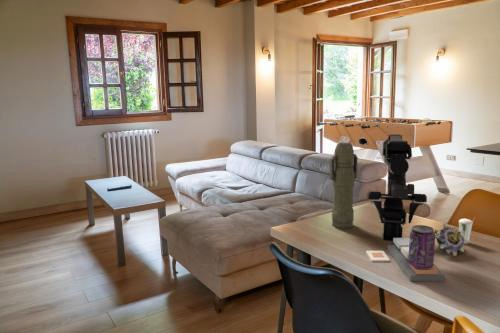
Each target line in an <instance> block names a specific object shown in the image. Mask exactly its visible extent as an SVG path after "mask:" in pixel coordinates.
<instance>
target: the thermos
mask: <svg viewBox="0 0 500 333" xmlns="http://www.w3.org/2000/svg"><path fill="white" fill-rule="evenodd" d="M358 159H359V158H358V155H357V154H356V153H354V147H353V144H352V143H350V142H339V143H337V144H336V146H335V150H334V155H332V156H331V158H330V160H329V161H330V162H329V165H330V167H329V179H330V180H331V181H332V186H333V206H332V208H331V221H332V223H331V224H332V225H331V226H332V227H334V228H336V229H339V230H340V229H342V230H345V229H352V228H353V227H354V219H355V218H354V217H355V216H354V215H355V213H354V212H355V210H354V208H353V203H354V200H353V198H354V187H355V180H356V179H357V177H358Z"/></svg>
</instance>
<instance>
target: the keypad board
mask: <svg viewBox="0 0 500 333" xmlns="http://www.w3.org/2000/svg"><path fill="white" fill-rule="evenodd" d="M387 251H388V253H389V255H390V256H391V257H392V258H393V260H394V261H395V262H396V264H397V265H398V266H399V268H400V270H401V271H402V272H403V274H404V275H405V276H406V278H408V280H409V282H445V275H446V274H444V273H443V272H442V270H440V268H439V267H438V266H437V265H436V264H435V262H433V264H434V266H435V267H436V268H437V269H438V270H439V272H438V274H416V273H415V272H414V271H413V270H412V268H411V267H410V266H409V263H408V259H407V258H406V257H405V256H404V255H403V253H402V252H401V249H399V248H398V247H397V246H396V245H395V244H387Z"/></svg>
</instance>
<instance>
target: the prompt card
mask: <svg viewBox="0 0 500 333" xmlns="http://www.w3.org/2000/svg"><path fill="white" fill-rule="evenodd" d="M365 253H366V255H367V256H368V258H369V260H370V261H371V262H374V263H378V262H380V263H381V262H382V263H383V262H391V260H390V258H389V256H388V255H387V254H386V252H385V251H384V250H366V251H365Z"/></svg>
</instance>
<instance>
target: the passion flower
mask: <svg viewBox="0 0 500 333" xmlns="http://www.w3.org/2000/svg"><path fill="white" fill-rule="evenodd" d="M442 226H443V227H442V229H434V234H435V240H436V242H437V245H438V246H437V248H438V249H439V250H442V249H443V250H444V252H445V254H446V255H449V254H450V255H451V256H452V257H454V258H455V257H457V255H458V251H460V252H462V253H464V252H465V244H464V243H467V242H468V240H466V239H464V237H463V236H464V234H462V233H460V232H459V231H458V229H457V226H454V227H451V226H448V225H447V223H445V222H444V224H443V225H442Z"/></svg>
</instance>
